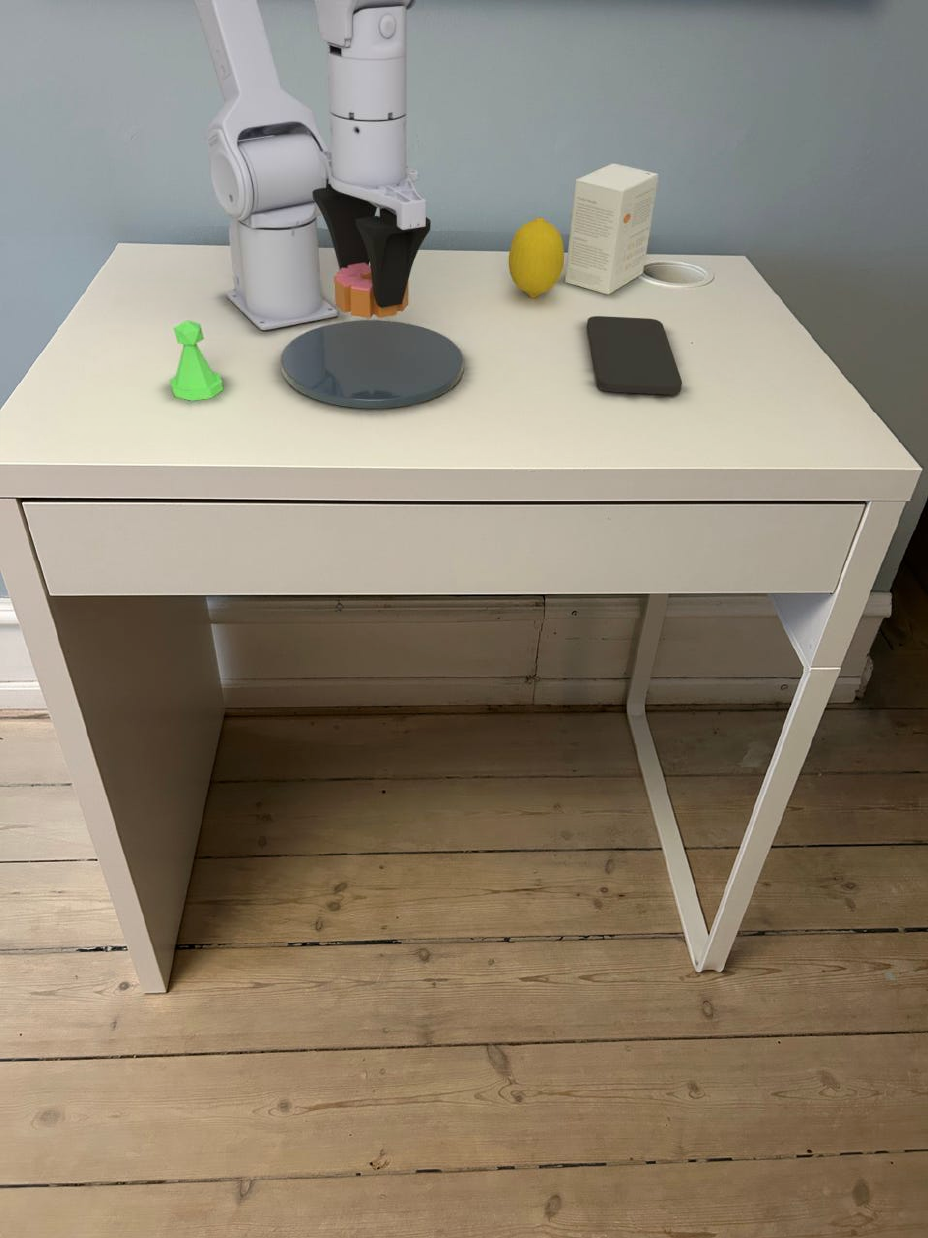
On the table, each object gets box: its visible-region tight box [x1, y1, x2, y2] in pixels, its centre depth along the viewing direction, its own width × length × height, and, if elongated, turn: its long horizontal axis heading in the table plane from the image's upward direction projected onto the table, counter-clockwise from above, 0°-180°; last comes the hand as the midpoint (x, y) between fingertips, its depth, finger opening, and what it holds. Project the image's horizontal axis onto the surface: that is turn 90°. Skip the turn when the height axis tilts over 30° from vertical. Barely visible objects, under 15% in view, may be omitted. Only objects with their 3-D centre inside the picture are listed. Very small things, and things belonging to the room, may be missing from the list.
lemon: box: [508, 216, 565, 299], centre depth 96 cm, size 6×6×8 cm
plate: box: [280, 319, 465, 409], centre depth 84 cm, size 16×16×1 cm
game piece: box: [169, 320, 224, 402], centre depth 78 cm, size 4×4×6 cm
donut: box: [333, 263, 410, 319], centre depth 80 cm, size 6×6×2 cm
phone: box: [586, 315, 683, 395], centre depth 88 cm, size 7×1×15 cm
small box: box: [564, 162, 660, 295], centre depth 100 cm, size 8×6×10 cm
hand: (371, 290), depth 80 cm, fingers closed on donut, 6 cm apart
